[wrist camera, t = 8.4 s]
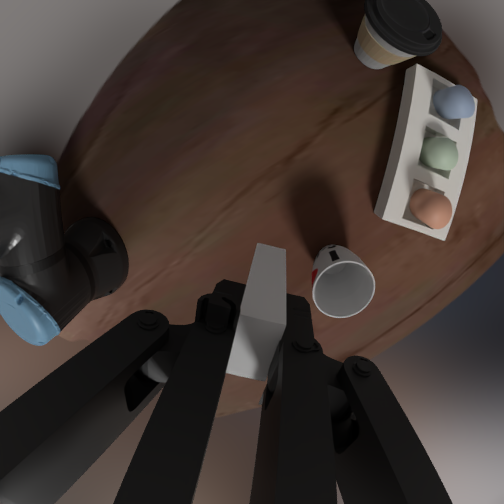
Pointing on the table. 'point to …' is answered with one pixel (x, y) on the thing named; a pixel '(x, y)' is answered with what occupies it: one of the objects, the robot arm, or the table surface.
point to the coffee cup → (396, 32)
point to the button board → (409, 147)
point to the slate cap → (454, 102)
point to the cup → (341, 282)
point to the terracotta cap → (431, 208)
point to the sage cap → (439, 153)
